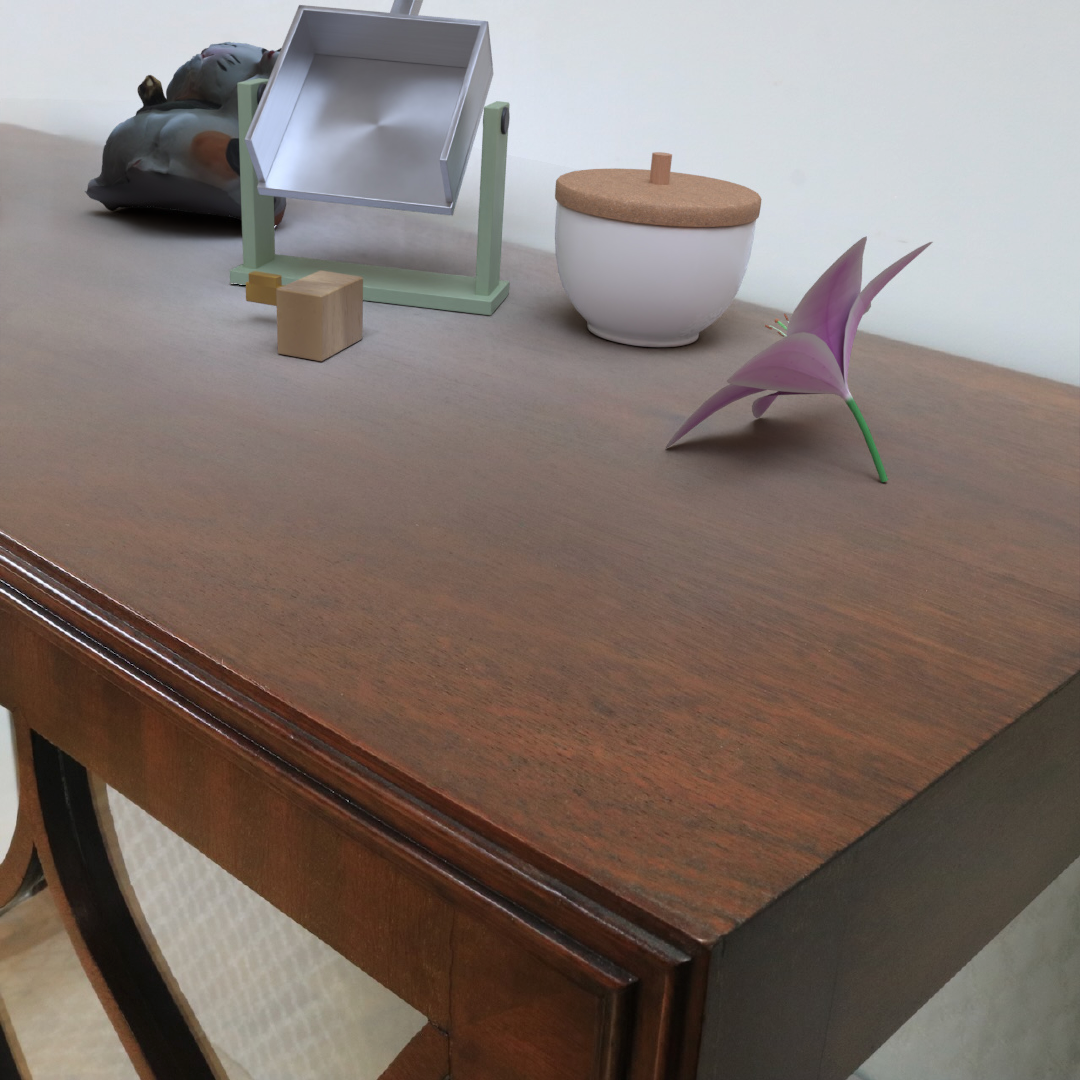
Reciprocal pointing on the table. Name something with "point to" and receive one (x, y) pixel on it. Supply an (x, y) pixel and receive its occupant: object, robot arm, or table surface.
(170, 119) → the lucky cat figurine
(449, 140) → the shallow metal tray
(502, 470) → the table surface
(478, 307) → the bracket
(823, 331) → the lily
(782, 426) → the table surface
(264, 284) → the tan blocky wooden piece
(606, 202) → the trinket box
